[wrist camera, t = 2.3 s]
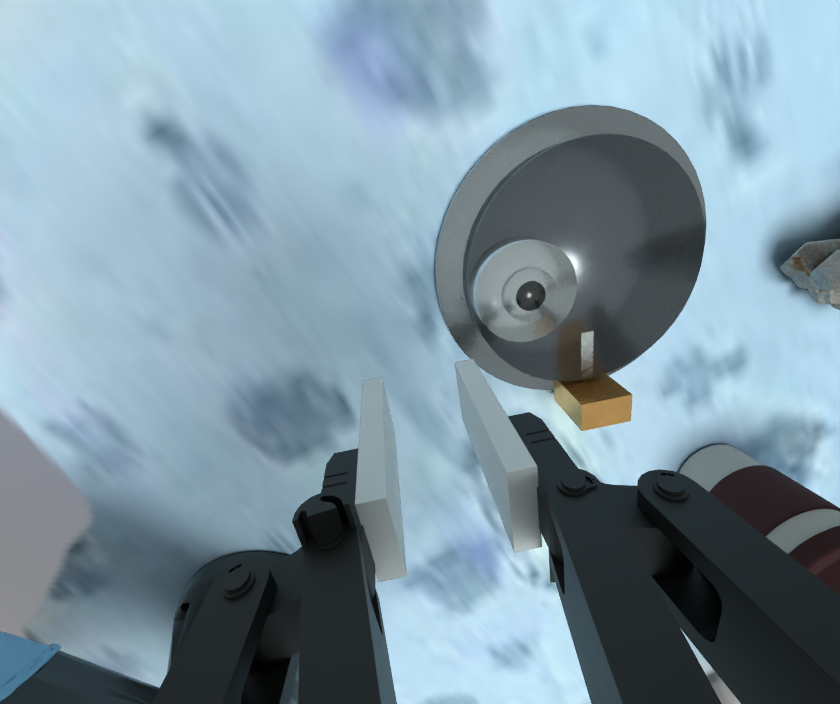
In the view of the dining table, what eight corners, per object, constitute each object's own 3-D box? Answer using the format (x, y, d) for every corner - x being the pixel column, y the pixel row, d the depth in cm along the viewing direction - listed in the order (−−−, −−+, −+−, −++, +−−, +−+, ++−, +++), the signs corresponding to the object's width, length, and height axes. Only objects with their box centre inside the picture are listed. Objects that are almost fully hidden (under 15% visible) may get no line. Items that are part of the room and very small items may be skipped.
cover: (474, 338, 30) (484, 354, 27) (463, 246, 27) (473, 252, 24) (562, 321, 30) (582, 335, 27) (560, 228, 27) (582, 232, 24)
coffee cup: (662, 446, 40) (816, 581, 26) (755, 420, 40) (958, 540, 26) (663, 516, 44) (797, 665, 30) (748, 492, 44) (921, 630, 30)
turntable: (479, 415, 35) (495, 449, 30) (447, 162, 27) (462, 155, 22) (671, 375, 35) (715, 403, 31) (697, 117, 27) (762, 101, 23)
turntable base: (454, 407, 35) (455, 411, 35) (412, 136, 27) (413, 135, 26) (685, 360, 36) (690, 363, 35) (717, 82, 27) (724, 80, 27)
